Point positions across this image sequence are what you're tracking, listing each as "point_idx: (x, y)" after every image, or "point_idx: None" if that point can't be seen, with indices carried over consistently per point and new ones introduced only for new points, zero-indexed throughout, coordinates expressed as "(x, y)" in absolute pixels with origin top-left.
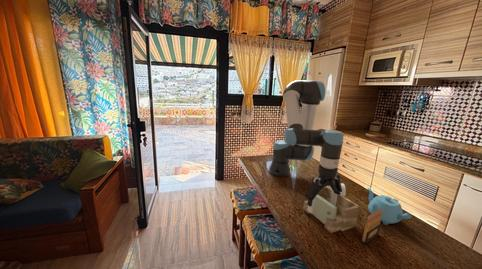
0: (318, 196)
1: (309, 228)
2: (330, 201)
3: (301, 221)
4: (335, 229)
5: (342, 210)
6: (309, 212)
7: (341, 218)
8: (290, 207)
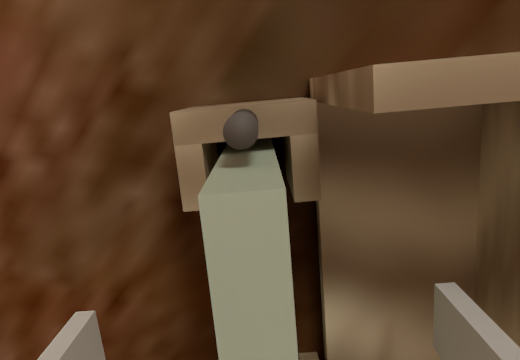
0: (258, 351)
1: None
2: (456, 315)
3: (73, 261)
4: None
5: None
6: None
7: None
8: (66, 44)
